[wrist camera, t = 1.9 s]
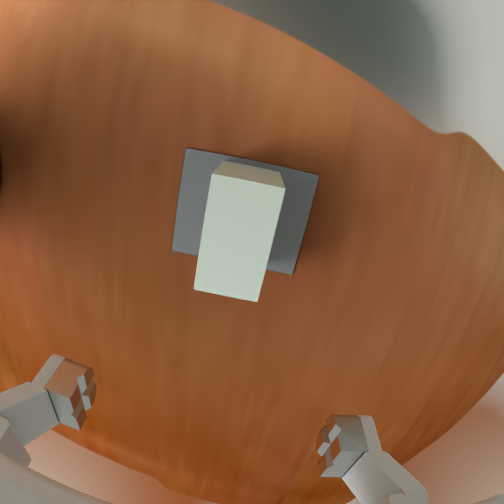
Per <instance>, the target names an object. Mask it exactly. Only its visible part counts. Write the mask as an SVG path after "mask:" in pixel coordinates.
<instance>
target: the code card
mask: <svg viewBox="0 0 504 504" xmlns="http://www.w3.org/2000/svg"><path fill="white" fill-rule="evenodd" d="M223 161H229V162H234V163H239V164H244V165H249V166H254V167H259V168H264V169H268V170H273V171H277V172H280V174H281V177H282V180H283V183H284V186H285V188H286V189H285V193H284V197H283V201H282V205H281V210H280V214H279V218H278V222H277V226H276V230H275V234H274V238H273V242H272V246H271V250H270V254H269V258H268V262H267V266H266V270H271V271H276V272H281V273H286V274H291V275H292V274H293V270H294V267H295V263H296V260H297V256H298V253H299V249H300V246H301V242H302V239H303V235H304V232H305V228H306V224H307V221H308V217H309V213H310V210H311V206H312V202H313V198H314V195H315V191H316V187H317V183H318V179H319V175H316V174H312V173H308V172H304V171H299V170H295V169H291V168H286V167H282V166H278V165H273V164H268V163H264V162H259V161H254V160H249V159H244V158H239V157H234V156H229V155H224V154H218V153H213V152H207V151H201V150H195V149H189V148H186V153H185V159H184V165H183V171H182V178H181V184H180V191H179V198H178V205H177V213H176V221H175V229H174V237H173V245H172V251H177V252H182V253H186V254H191V255H196V256H198V255H199V248H200V242H201V236H202V229H203V223H204V217H205V211H206V205H207V199H208V193H209V187H210V182H211V176H212V173H213V172H214V171H215V170H216V169H217V167H218V166H219V165H220V164H221V163H222V162H223Z"/></svg>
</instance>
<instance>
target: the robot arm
mask: <svg viewBox="0 0 504 504" xmlns="http://www.w3.org/2000/svg"><path fill="white" fill-rule="evenodd" d="M93 376H94V373H93V368H91V367H88V366H85V365H83V364H80V363H78V362H75V361H72V360H70V359H67V358H65V357H62V356H60V355H57V354H53V355H51V356H50V358H49V359H48V360H47V362H46V363H45V365H44V366H43V367H42V369H41V370H40V371H39V373H38V374H37V376H36V377H35V378H34V380H33V381H32V383H30V382H26V383H23V384H21V385H19V386H16V387H14V388H11V389H9V390H6V391H4V392H2V393H0V504H112V503H109V502H106V501H103V500H100V499H97V498H95V497H92V496H90V495H87V494H84V493H82V492H80V491H77V490H75V489H72V488H70V487H68V486H65V485H63V484H61V483H59V482H57V481H54V480H52V479H50V478H48V477H46V476H44V475H42V474H40V473H38V472H36V471H34V470H32V469H30V468H28V466H29V464H30V462H31V458H30V456H29V454H28V453H27V451H26V449H25V448H24V446H25V445H26V444H28V443H29V442H31V441H32V440H34V439H36V438H37V437H39V436H40V435H42V434H44V433H45V432H47V431H48V430H50V429H52V428H53V427H55V426H56V425H58V424H59V422H60V423H62V424H65V425H67V426H70V427H73V428H75V429H78V430H80V429H81V427H82V425H83V423H84V421H85V419H86V417H87V416H86V412H85V410H87V409H89V408H91V407H92V405H93V403H94V400H95V396H96V384H95V382H94V381H93V380H92V377H93ZM326 423H327V425H326V426H324V427H322V428H321V430H320V432H319V433H318V437H317V452H318V453H319V454H320V455H321V456H322V457H321V458H320V460H319V461H318V464H319V472H320V477H342V479H343V480H344V482H345V483H346V484H347V486H348V487H349V488H350V490H351V491H352V492H353V494H354V495H355V496H356V497H357V499H358V500H359V501H360V503H361V504H430V502H429V498H428V495H427V491H426V488H425V487H424V486H422V484H420V483H419V482H418V481H417V480H416V479H415V478H414V477H413V476H412V475H411V474H410V473H408V472H407V471H406V470H405V469H404V468H403V467H402V466H401V465H400V464H399V463H398V462H397V461H396V460H395V459H393V458H392V457H391V456H390V455H389V454H388V453H387V452H386V451H382V448H381V445H380V441H379V438H378V434H377V431H376V427H375V424H374V420H373V418H372V417H371V416H357V415H337V414H331V415H330V416H329V417H328V418H327V420H326ZM474 504H504V494H498V495H495V496H492V497H490V498H488V499H485V500H482V501H479V502H477V503H474Z"/></svg>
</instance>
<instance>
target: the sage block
mask: <svg viewBox="0 0 504 504" xmlns="http://www.w3.org/2000/svg"><path fill="white" fill-rule="evenodd" d="M285 189H286V188H285V186H284V183H283V180H282V177H281V174H280V172H277V171H273V170H268V169H264V168H259V167H254V166H249V165H244V164H239V163H234V162H229V161H223V162H222V163H221V164H220V165H219V166H218V167H217V169H216V170H215V171H214V172H213V173H212V176H211V182H210V187H209V193H208V199H207V205H206V211H205V217H204V223H203V229H202V236H201V242H200V248H199V255H198V262H197V269H196V276H195V283H194V290H199V291H204V292H209V293H214V294H218V295H223V296H228V297H234V298H239V299H244V300H249V301H254V302H258V298H259V294H260V290H261V286H262V282H263V278H264V274H265V270H266V266H267V262H268V258H269V254H270V250H271V246H272V242H273V238H274V234H275V230H276V226H277V222H278V218H279V214H280V210H281V205H282V201H283V197H284V193H285Z"/></svg>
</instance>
